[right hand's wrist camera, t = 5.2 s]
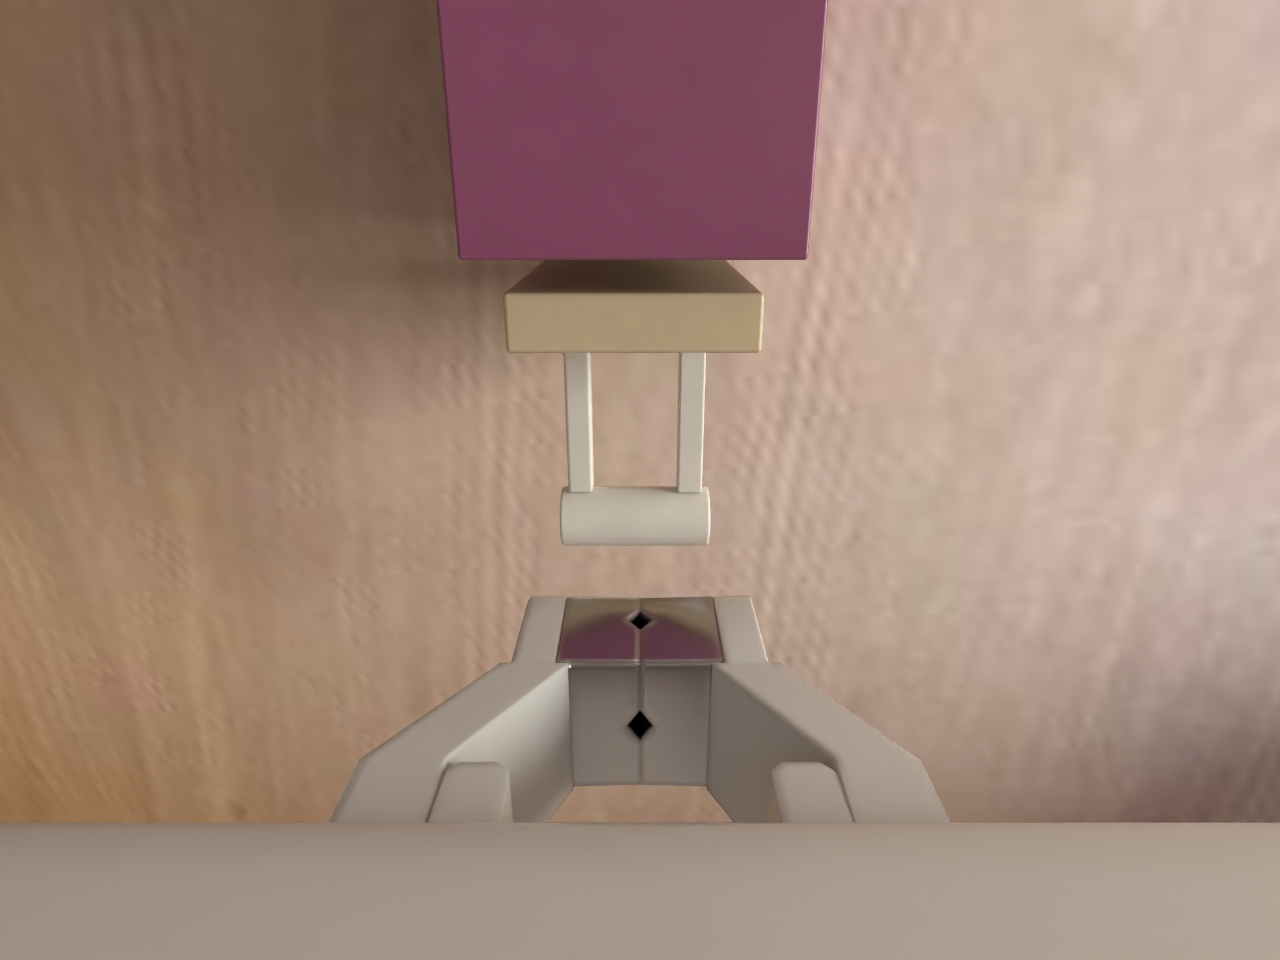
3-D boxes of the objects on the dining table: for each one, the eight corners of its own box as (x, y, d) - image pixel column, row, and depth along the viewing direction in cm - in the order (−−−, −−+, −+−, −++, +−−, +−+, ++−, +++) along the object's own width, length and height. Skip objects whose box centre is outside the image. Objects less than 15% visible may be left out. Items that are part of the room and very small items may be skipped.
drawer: (714, 466, 25) (747, 590, 17) (557, 466, 25) (521, 590, 17) (754, -561, 16) (854, -1211, 9) (512, -561, 16) (402, -1211, 9)
